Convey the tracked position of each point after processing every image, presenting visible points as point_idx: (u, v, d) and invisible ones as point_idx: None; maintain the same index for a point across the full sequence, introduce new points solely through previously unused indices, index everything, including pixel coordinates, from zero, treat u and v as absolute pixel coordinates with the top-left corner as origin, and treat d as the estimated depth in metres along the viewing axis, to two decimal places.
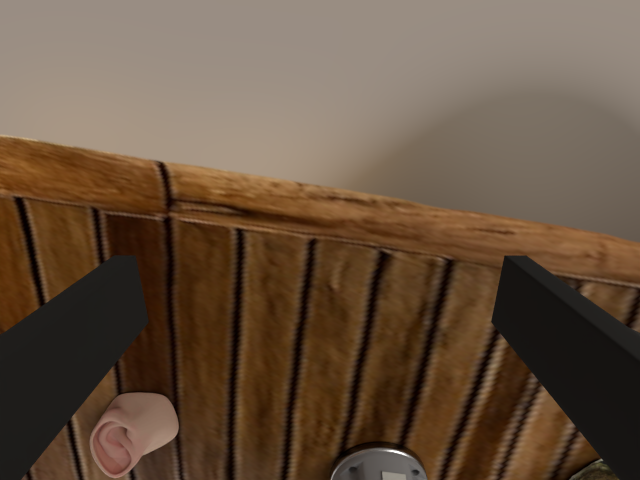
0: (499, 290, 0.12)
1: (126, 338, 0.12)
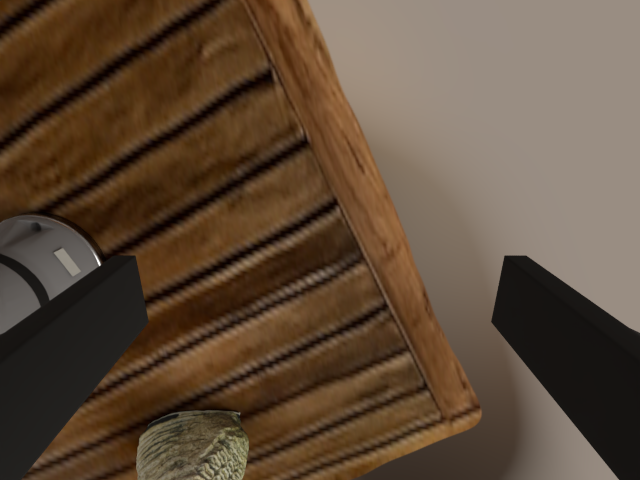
0: (499, 290, 0.12)
1: (125, 338, 0.12)
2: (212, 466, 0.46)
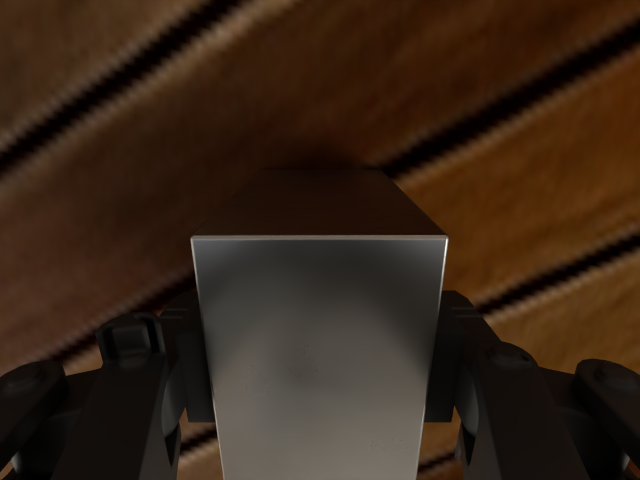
0: None
1: None
2: None
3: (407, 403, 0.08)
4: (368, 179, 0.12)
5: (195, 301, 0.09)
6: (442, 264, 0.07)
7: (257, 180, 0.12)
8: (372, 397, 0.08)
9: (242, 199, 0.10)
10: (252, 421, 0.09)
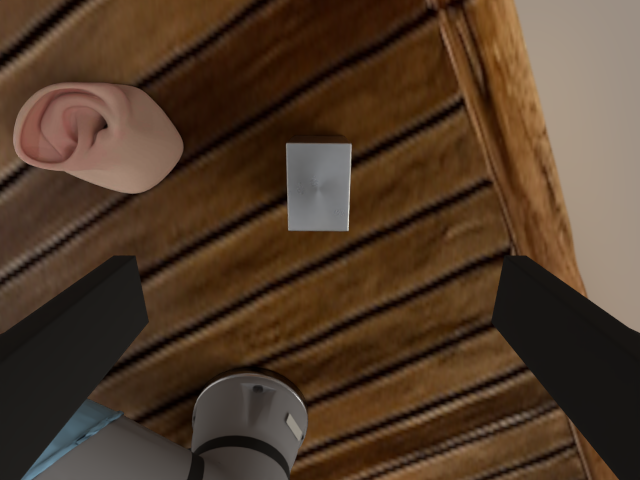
0: (499, 290, 0.12)
1: (126, 337, 0.12)
2: None
3: (343, 196, 0.29)
4: (337, 137, 0.33)
5: None
6: (350, 151, 0.28)
7: (295, 137, 0.33)
8: (333, 194, 0.29)
9: (294, 139, 0.30)
10: (298, 202, 0.29)
